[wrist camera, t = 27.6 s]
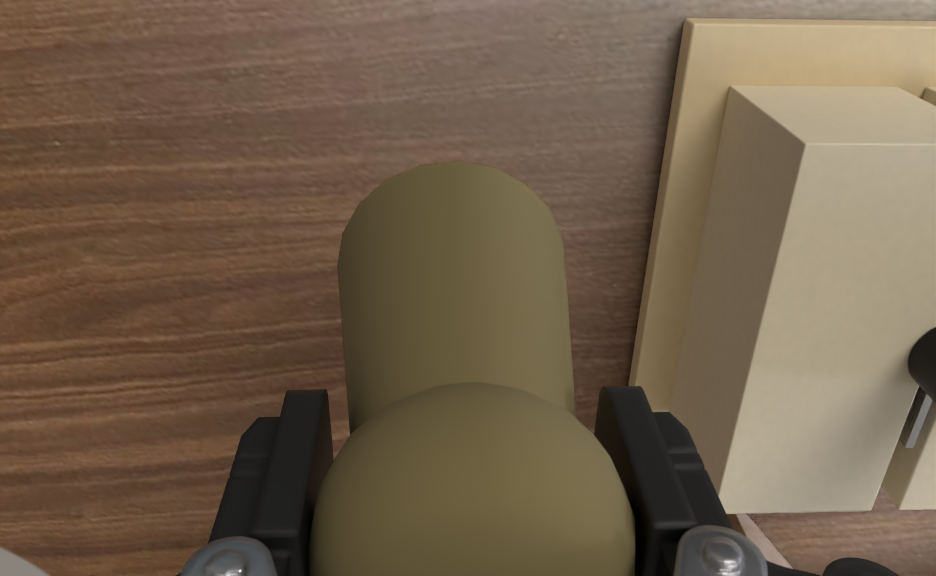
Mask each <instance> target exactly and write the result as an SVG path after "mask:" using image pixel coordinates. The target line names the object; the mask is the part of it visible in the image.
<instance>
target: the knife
mask: <svg viewBox="0 0 936 576" xmlns="http://www.w3.org/2000/svg"><path fill="white" fill-rule="evenodd" d="M908 370H909V373H910V375H911V377H912V378H913V379H914V381H915V382H916V383H917V384H918V385H919V387H918V390H917V393H916V395H915V398H914V400H913V403H912V406H911V408H910V411H909V413H908V416H907V418H906V421H905V424H904V426H903V429H902V431H901V434H900V437H899V440H900V442H901V443H902V444H903V445H904V447H905V448H914V445H915V443H916V440H917V438H918V435H919V433H920V430H921V428H922V425H923V423H924V420H925V418H926V415H927V413H928V410H929V408H930V405H931V403H932V400H933V401H934V402H935V403H936V327H935V328H933V329H931V330H930V331H928V332H927V333H926V334H924V335H923V336H922V337H921V338H920V339H919V340H918V341H917V342H916V344H915V345H914V347H913V348H912V350H911V352H910V354H909V358H908Z"/></svg>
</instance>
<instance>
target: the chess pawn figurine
mask: <svg viewBox="0 0 936 576" xmlns="http://www.w3.org/2000/svg"><path fill="white" fill-rule="evenodd" d="M337 266H338V279H339V293H340V306H341V319H342V332H343V346H344V359H345V372H346V385H347V399H348V412H349V425H350V437H349V438H348V440H347V441H346V443H345V444H344V446H343V447H342V449H341V450H340V452H339V453H338V455H337V457H336V458H335V460H334V461H333V463H332V464H331V466H330V468H329V470H328V472H327V473H326V475H325V477H324V479H323V481H322V483H321V485H320V486H319V488H318V493H317V499H316V504H315V510H314V515H313V521H312V527H311V533H310V539H309V545H308V564H309V571H310V576H635V516H634V513H633V511H632V508H631V505H630V502H629V499H628V496H627V493H626V490H625V488H624V486H623V484H622V481H621V479H620V477H619V475H618V473H617V470H616V468H615V466H614V464H613V462H612V459H611V457H610V456H609V454H608V453H607V452H606V450H605V449H604V448H603V446H602V445H601V444H600V442H599V441H598V440H597V438H596V437H595V436H594V435H593V434H592V433H591V432H590V431H589V430H588V429H587V428H586V427H585V426H584V425H583V424H582V423H580V422H579V421H578V420H577V419H576V408H575V394H574V381H573V367H572V353H571V339H570V325H569V312H568V298H567V284H566V270H565V256H564V243H563V239H562V236H561V234H560V231H559V229H558V227H557V224H556V222H555V219H554V217H553V215H552V212H551V210H550V209H549V208H548V207H547V206H546V205H545V204H544V203H543V201H542V200H541V199H540V198H539V197H538V196H537V195H536V194H535V193H534V192H533V191H532V189H531V188H530V187H529V186H528V185H526V184H524V183H523V182H521V181H519V180H517V179H515V178H513V177H512V176H510V175H508V174H506V173H504V172H502V171H501V170H499V169H497V168H494V167H489V166H483V165H478V164H473V163H468V162H462V161H452V162H443V163H434V164H424V165H419V166H417V167H415V168H412V169H410V170H408V171H405V172H403V173H401V174H398V175H396V176H394V177H392V178H389V179H387V180H385V181H384V182H383V183H382V184H381V185H380V186H379V187H377V188H376V189H375V190H374V191H373V192H372V193H371V194H370V195H368V196H367V197H366V198H365V199H364V200H363V201H362V202H361V203H359V205H358V207H357V208H356V210H355V212H354V214H353V215H352V217H351V219H350V221H349V223H348V224H347V226H346V228H345V230H344V232H343V233H342V240H341V246H340V252H339V259H338V265H337Z"/></svg>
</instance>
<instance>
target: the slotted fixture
mask: <svg viewBox="0 0 936 576" xmlns="http://www.w3.org/2000/svg"><path fill="white" fill-rule="evenodd" d="M935 327H936V21H889V20H808V19H727V18H686V19H685V21H684V26H683V32H682V39H681V45H680V52H679V59H678V65H677V72H676V78H675V85H674V91H673V98H672V104H671V111H670V117H669V124H668V130H667V137H666V143H665V150H664V156H663V163H662V169H661V176H660V182H659V189H658V195H657V202H656V208H655V215H654V221H653V228H652V234H651V241H650V247H649V254H648V260H647V267H646V273H645V280H644V286H643V293H642V299H641V306H640V312H639V319H638V325H637V332H636V338H635V345H634V351H633V358H632V364H631V371H630V377H629V384H628V386H641V387H642V388H643V390H644V392H645V395H646V397H647V400H648V402H649V405H650V407H651V410H652V412H670V413H671V414H672V415H673V416H674V417H675V418H676V419H678V420H679V421H680V422H681V423H682V424H683V425H684V426H685V427H686V428H687V429H688V430H689V433H690V435H691V437H692V439H693V442H694V444H695V446H696V448H697V453H699V455H700V457H701V459H702V461H703V464H704V469H705V470H707V472H708V475H709V477H710V479H711V481H712V483H713V486H714V488H715V490H716V492H717V494H718V497H719V499H720V501H721V503H722V505H723V508H724V510H725V512H726V514H748V513H793V512H837V511H870V510H871V509H872V507H873V504H874V501H875V499H876V496H877V494H878V491H879V488H880V486H881V487H882V488H883V489H884V491H885V492H886V494H887V495H888V496H889V498H890V499H891V501H892V502H893V503H894V505H895V506H896V508H897V509H898V510H921V509H936V403H935V402H934V401H933V400H932V403H931V405H930V408H929V410H928V413H927V415H926V418H925V420H924V423H923V425H922V428H921V430H920V433H919V435H918V438H917V440H916V443H915V445H914V448H905V447H904V445H903V444H902V443H901V442H900V440H899V437H900V434H901V431H902V429H903V426H904V424H905V421H906V418H907V416H908V413H909V411H910V408H911V406H912V403H913V400H914V398H915V395H916V393H917V390H918V387H919V385H918V384H917V383H916V382H915V381H914V379H913V378H912V377H911V375H910V373H909V370H908V358H909V354H910V352H911V350H912V348H913V347H914V345H915V344H916V342H917V341H918V340H919V339H920V338H921V337H922V336H923V335H924V334H926V333H927V332H928V331H930V330H931V329H933V328H935Z"/></svg>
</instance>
